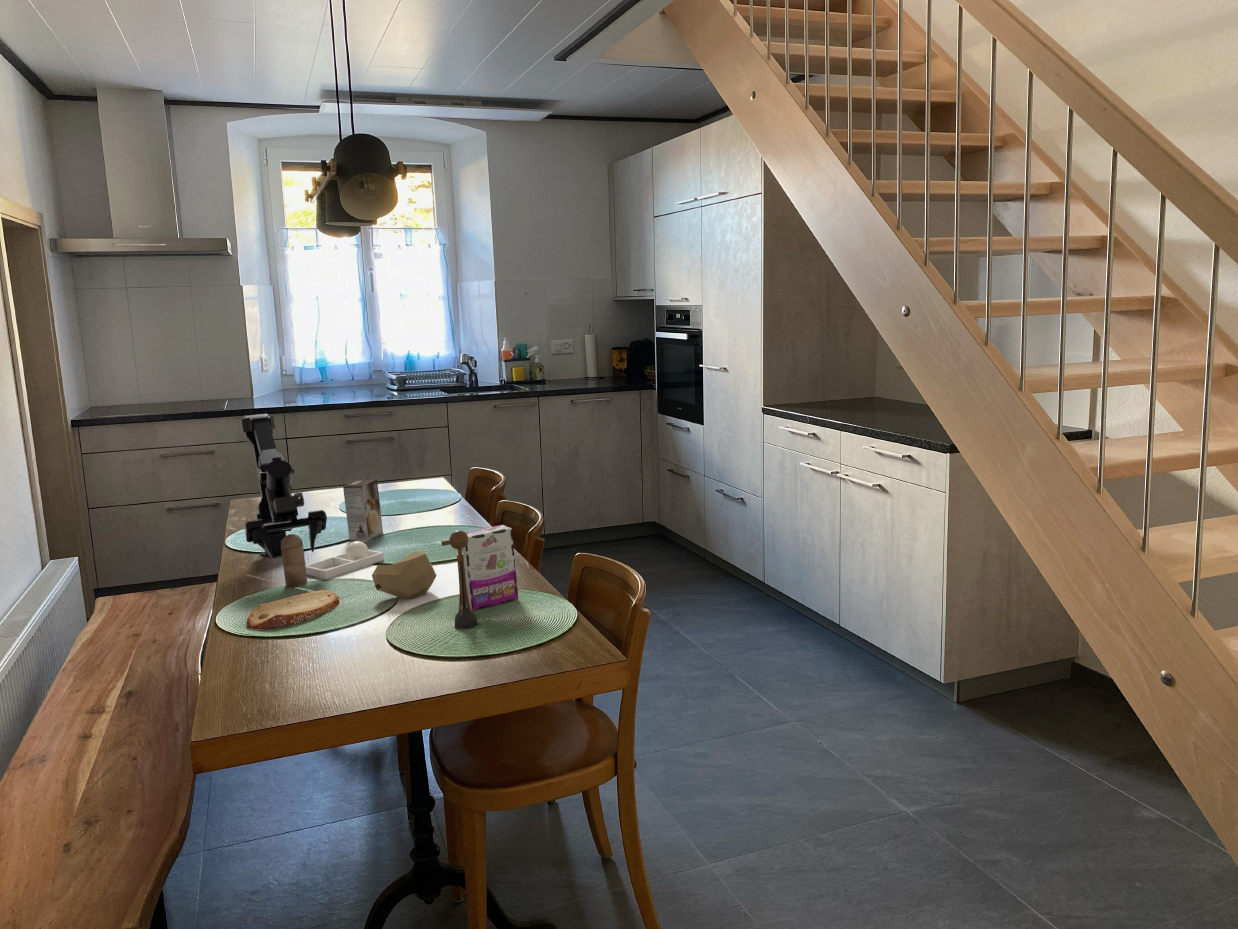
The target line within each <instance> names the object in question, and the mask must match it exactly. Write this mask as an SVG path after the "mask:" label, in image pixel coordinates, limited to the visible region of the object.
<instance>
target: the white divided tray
mask: <svg viewBox="0 0 1238 929" xmlns="http://www.w3.org/2000/svg"><path fill="white" fill-rule="evenodd" d="M382 561H385V557H384V551H383V552H382V551H377V550H372V549H368V556H367V557H365V558H362V559H359V560H356V561H352V560H349V559H348V558H347V556H346V552H344V553H341V554H337V555H335V556H330V557H327V558H325V559H321V560H319V561H314V562H311V563H308V564H305V566H306V574H307V576H310V577H315V578H320V579H324V580H328V579H331V578H334V577H337V576H340V575H343V574H347V573H349V572H351V571H352V572H353V571H356V570H358V569H363V568H364V567H367V566H370V565H373V564H377V563H379V562H382Z"/></svg>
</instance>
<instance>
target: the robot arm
mask: <svg viewBox="0 0 1238 929" xmlns="http://www.w3.org/2000/svg"><path fill="white" fill-rule="evenodd" d="M239 425H240V427H239V428H240V433H242V434H244V435H243V436H244V439H245V441H246V442H247V443H248V445H250V447H251V448H252V450H253V451H252V452H253V458H254V463H255V469H256V476H257V480H258V481H257V482H258V488H259V493H260V502H259V504H258V506H257V509H256V510H257V513H256V514H255V519H252V520H247V521H246V522H245V524H244V534H245V540H246V542H247V543H252V544H253V545H258V546H259V547H261V548H262V549H263V550H264V551H263V552H262V551H261V552H260V553H259V555H260V556H263V557H269V558H271V559H272V560H274V559H275V558H277V557H282V551H281V541H282V539H283V538H284V537H285V536H287V532H291V531H292V530H293V529H297V528H298V529H299V528H304V527H308V537H309V539H308V540H309V543H310V544H309V547H310V550H311V552H312V553H314V552H315V543H316V538H317V537H318V536H317V535H319V534H321V533H322V531H325V530H326V528H327V519H328V518H327V513H326V511H324V510H323V509H319V510H311V511H308V513H307V517H304V518H298V516H299V511H298V508H300V507H301V508H302V507H304V506H305V499H304V496H303V492H296V493H294V494H293V495H292V492H291V486H292V476H293V474H295V470H294V468H293V467H292V465H291V464H290V463H289V462H287V461H286V458H285V456H284V454H282V453H281V452H279V451H278V449H277V446H276V442H275V438H274V435H273V433H274V430H276V423H275V416H273V415H268V413H258V414H251V415H244V416H243V418H242V419H240V420H239Z"/></svg>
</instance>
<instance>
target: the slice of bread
mask: <svg viewBox="0 0 1238 929" xmlns="http://www.w3.org/2000/svg"><path fill="white" fill-rule="evenodd" d="M339 605H340V599H339V596H338V595H337V593H336V592H333V591H330V590H325V589H321V590H316V591H310V592H307V593H300V594H296V595H291V596H287V597H285V598H281V599H278V600H274V601H271V602H265V603H260V604H258V605H257V607H255V608H254V609H253V610H252V611H251V612H250V613H249V615H248V617H247V619H246V628H247V627H248V628H252V629H265V630H270V629H269V628H271V629H276V628H275V627H280V628H286V627H289V625H290V626H294V625H297V623H298V624H300V623H301V624H302V623H304V622H307V621H310V620H312V619H315V618H318V617H319V616H323V615H325V614H327V613H329V612H330V611H332V610H334V609H335V608H336V606H339ZM293 624H294V625H293ZM285 626H286V627H285ZM248 628H247V629H248Z"/></svg>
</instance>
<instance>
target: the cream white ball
mask: <svg viewBox="0 0 1238 929" xmlns="http://www.w3.org/2000/svg"><path fill="white" fill-rule="evenodd" d="M368 550H369V548H368V545H367V544H365V542H364V541H360V540H353V541H352V542H351V543H349V544H348V545H347V546H346V550H345V553H346V556H347V558H348V559H349V560H352V561H356V560H359V559H362V558H365V557H367V556H368Z"/></svg>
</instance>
